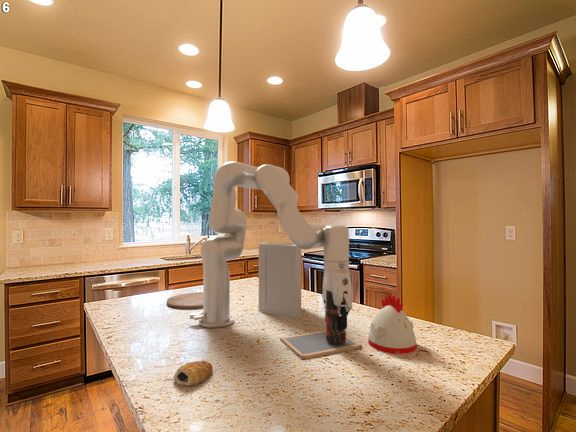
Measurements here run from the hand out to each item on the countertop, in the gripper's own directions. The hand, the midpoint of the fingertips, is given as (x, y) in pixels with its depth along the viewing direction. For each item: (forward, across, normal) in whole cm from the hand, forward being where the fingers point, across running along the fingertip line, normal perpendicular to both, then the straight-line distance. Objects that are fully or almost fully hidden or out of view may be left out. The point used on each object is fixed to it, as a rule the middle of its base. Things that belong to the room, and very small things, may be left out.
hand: (335, 324), depth 97 cm
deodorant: (+5, 0, 0) cm, 5 cm away
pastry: (+7, -3, +42) cm, 43 cm away
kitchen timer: (+6, -6, -16) cm, 18 cm away
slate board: (+6, +3, +4) cm, 8 cm away
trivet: (+7, +70, +32) cm, 77 cm away
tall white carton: (+7, +40, -1) cm, 40 cm away
